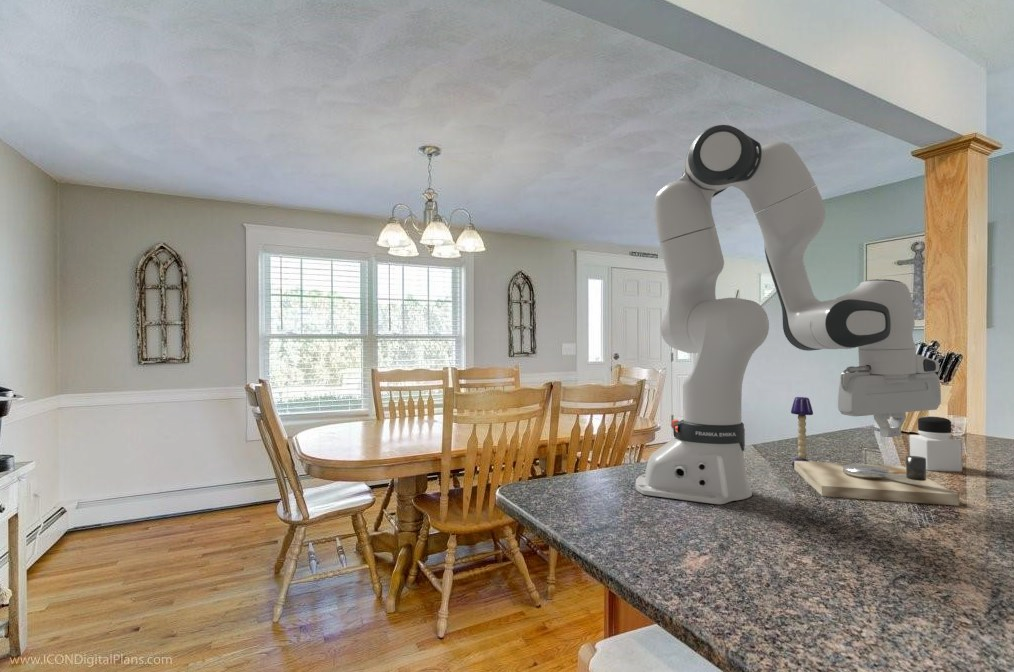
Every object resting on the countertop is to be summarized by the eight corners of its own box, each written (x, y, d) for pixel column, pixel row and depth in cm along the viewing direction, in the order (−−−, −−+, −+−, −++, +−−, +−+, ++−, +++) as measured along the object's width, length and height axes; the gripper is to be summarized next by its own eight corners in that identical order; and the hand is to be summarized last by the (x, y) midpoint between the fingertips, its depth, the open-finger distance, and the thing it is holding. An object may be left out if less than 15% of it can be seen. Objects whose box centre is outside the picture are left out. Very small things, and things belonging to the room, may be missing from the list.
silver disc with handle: (834, 471, 107) (834, 447, 108) (856, 467, 111) (855, 444, 111) (915, 488, 95) (914, 461, 95) (935, 482, 98) (935, 456, 98)
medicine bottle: (963, 472, 115) (961, 419, 116) (927, 471, 117) (926, 419, 117) (942, 464, 122) (941, 415, 122) (909, 463, 124) (908, 414, 124)
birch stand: (822, 496, 99) (821, 485, 99) (794, 469, 120) (794, 460, 120) (959, 505, 92) (958, 494, 92) (904, 475, 113) (904, 466, 113)
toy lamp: (790, 466, 121) (792, 397, 121) (788, 462, 125) (790, 395, 125) (813, 469, 119) (816, 399, 119) (810, 465, 123) (812, 397, 123)
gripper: (855, 367, 91) (859, 444, 91) (946, 362, 95) (950, 435, 95) (827, 366, 97) (830, 437, 97) (913, 361, 101) (917, 429, 101)
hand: (890, 436), depth 96 cm, fingers closed
